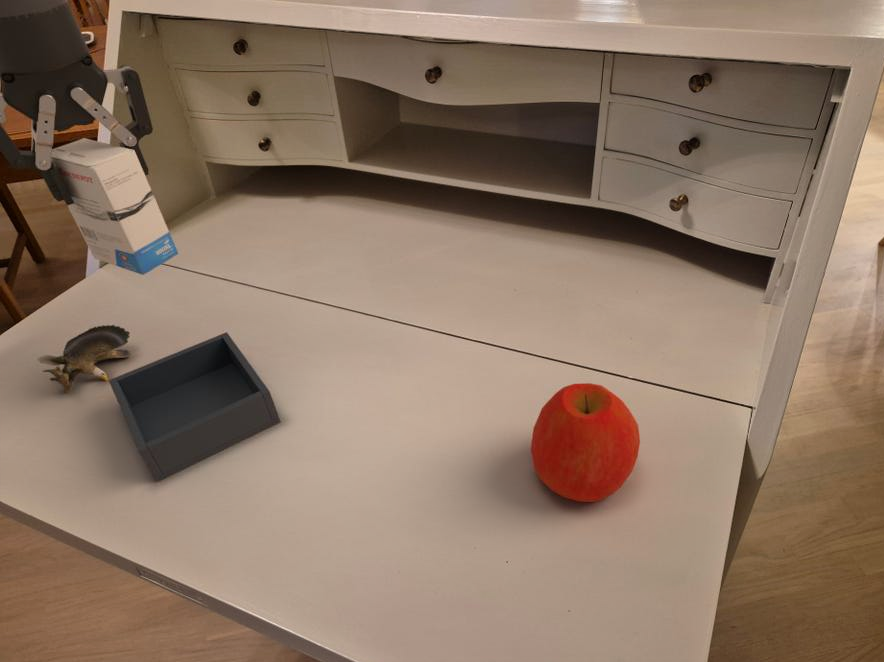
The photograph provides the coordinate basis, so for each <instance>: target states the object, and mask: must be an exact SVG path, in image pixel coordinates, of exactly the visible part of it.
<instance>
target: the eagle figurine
mask: <svg viewBox="0 0 884 662" xmlns="http://www.w3.org/2000/svg"><path fill="white" fill-rule="evenodd" d="M130 334H131V333H130V331H128V330H126V328H124V327H121V326H119V325H117V326H116V325H115V324H112V325H109V324H107V325H98V326H94V327H92V328H88V330H86V331H84V332H81V333H79V334H78V335H76V336H74V337H73V338H71V339H69V340H67V342H66V344H65V347H64V349H63V351H62V355H58V356H55V355H50V354H44V355H40V356H39V357H37V358H36V361H38V362H39V363H40V364H44V365H50V366H55V367H56V368H51V369H44V370H42V372H43V373H50V374H51V375H53V376H54V377H50V378H49V380H50V382H56V383H59V384H60V385H61V386H62V387H63V390H64V392H65V393H67V394H68V393H69V392H70V391H71V389H72V387H73V385H74V384H73V382H74V380H75V378H76V377H77V375H78V374H79V373H81V374H85V375H90V376H94V377H97V378H100V379H102V380H104V381H105V382H109V378H108V376H107V374H106V373H105V372H104V371H103V370H102V369H100V368H99V367H98V366H96V365H95V364H96V363H98V362H100V361H104V360H111V359H120V358H121V359H122V358H130V356H131V351H130V350H128V349H122V348H121V347H123V346H125V345H126V344H128V342H129V340H128V339H130ZM61 365H62V366H63V368H60V366H61Z"/></svg>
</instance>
